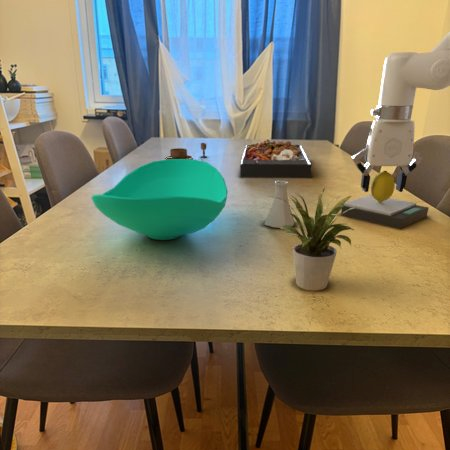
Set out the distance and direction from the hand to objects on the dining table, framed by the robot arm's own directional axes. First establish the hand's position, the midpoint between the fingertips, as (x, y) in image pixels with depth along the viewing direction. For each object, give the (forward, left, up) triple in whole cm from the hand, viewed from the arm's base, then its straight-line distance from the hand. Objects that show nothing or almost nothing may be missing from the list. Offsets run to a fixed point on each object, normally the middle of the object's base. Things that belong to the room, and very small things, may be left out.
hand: (382, 190), depth 107 cm
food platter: (+64, -33, -6) cm, 72 cm away
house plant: (-12, +47, -6) cm, 49 cm away
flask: (+13, +24, -6) cm, 28 cm away
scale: (0, 0, -6) cm, 6 cm away
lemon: (0, 0, -3) cm, 3 cm away
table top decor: (+26, +48, -6) cm, 55 cm away
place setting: (+97, -16, -6) cm, 98 cm away
